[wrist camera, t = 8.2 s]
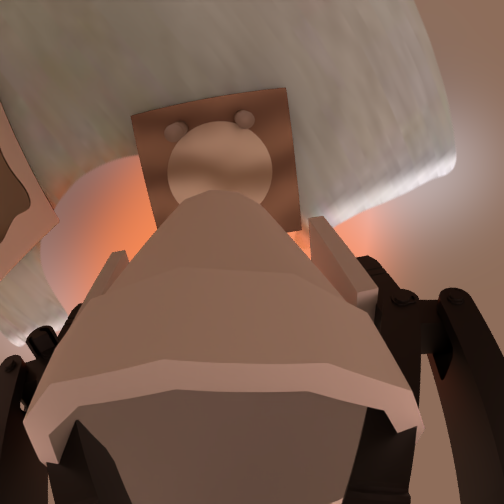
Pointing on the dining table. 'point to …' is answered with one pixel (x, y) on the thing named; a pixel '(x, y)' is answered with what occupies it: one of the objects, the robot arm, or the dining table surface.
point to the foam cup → (221, 367)
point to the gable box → (19, 202)
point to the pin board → (221, 153)
